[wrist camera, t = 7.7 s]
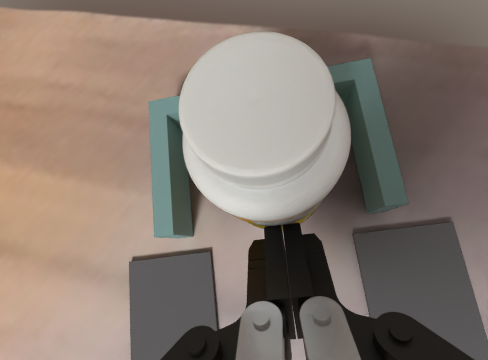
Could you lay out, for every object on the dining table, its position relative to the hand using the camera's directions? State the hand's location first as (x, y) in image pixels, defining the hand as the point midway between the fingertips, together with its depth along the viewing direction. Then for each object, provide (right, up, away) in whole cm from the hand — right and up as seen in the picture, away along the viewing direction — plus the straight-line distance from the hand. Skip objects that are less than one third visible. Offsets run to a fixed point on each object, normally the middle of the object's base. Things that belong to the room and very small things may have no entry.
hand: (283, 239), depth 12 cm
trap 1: (+7, -3, +2) cm, 8 cm away
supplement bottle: (0, +2, +5) cm, 5 cm away
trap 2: (-6, -5, +4) cm, 9 cm away
